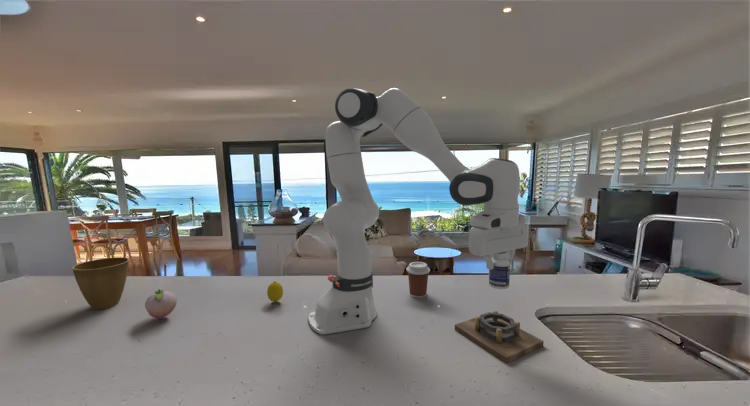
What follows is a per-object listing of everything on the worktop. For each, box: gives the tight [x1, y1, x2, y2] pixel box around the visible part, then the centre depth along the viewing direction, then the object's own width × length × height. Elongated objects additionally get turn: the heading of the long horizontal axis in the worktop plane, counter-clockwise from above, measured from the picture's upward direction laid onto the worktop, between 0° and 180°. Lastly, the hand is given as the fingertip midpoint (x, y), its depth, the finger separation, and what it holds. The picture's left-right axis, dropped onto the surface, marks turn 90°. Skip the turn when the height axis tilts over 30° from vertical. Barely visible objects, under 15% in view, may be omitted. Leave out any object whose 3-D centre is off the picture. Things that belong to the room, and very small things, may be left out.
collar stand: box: [454, 310, 544, 364], centre depth 83 cm, size 15×18×5 cm
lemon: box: [266, 281, 284, 303], centre depth 107 cm, size 6×6×8 cm
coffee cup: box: [405, 261, 431, 299], centre depth 113 cm, size 9×9×12 cm
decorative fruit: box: [144, 289, 178, 320], centre depth 96 cm, size 9×8×10 cm
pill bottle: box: [488, 251, 511, 290], centre depth 81 cm, size 5×5×10 cm
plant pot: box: [71, 256, 130, 311], centre depth 106 cm, size 15×15×16 cm
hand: (499, 266), depth 81 cm, fingers closed on pill bottle, 5 cm apart
